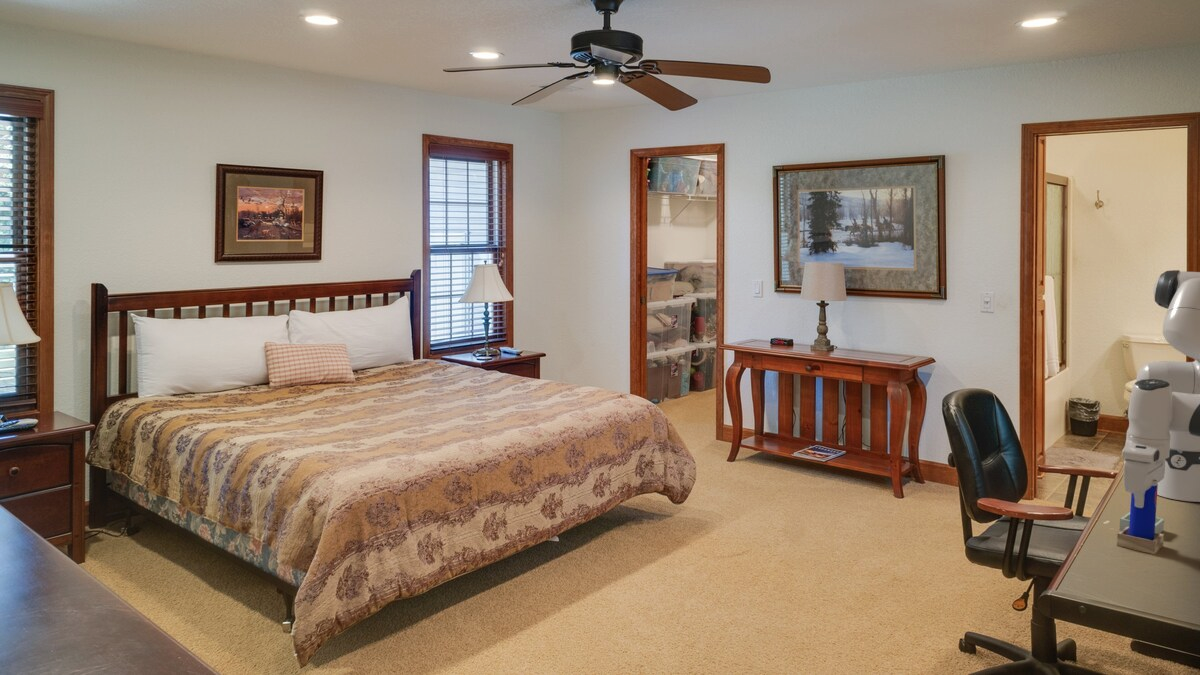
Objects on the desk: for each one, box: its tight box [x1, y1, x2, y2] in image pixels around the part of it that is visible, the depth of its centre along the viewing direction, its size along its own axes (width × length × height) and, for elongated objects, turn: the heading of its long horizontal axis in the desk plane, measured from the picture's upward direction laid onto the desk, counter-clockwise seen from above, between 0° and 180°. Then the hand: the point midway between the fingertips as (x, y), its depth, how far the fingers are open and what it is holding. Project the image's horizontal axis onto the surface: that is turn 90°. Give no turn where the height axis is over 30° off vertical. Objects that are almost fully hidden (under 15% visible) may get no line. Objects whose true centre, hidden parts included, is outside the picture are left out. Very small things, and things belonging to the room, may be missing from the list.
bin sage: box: [1118, 511, 1165, 534], centre depth 214 cm, size 8×8×3 cm
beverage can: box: [1129, 480, 1158, 541], centre depth 203 cm, size 5×5×15 cm
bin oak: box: [1116, 526, 1165, 555], centre depth 203 cm, size 8×8×3 cm
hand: (1143, 504), depth 202 cm, fingers closed on beverage can, 5 cm apart
